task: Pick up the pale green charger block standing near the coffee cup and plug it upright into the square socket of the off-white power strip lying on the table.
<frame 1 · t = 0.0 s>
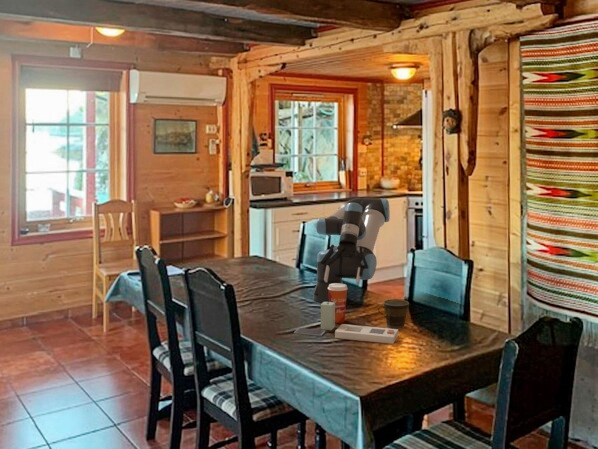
hand: (341, 282, 260), 15 cm above the table, tool tilted 35°, fingers open, 13 cm apart
coffee cup: (337, 321, 258), on the table
power strip: (366, 336, 237), on the table
charger block: (327, 328, 248), on the table
ceramic cup: (392, 327, 249), on the table
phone: (309, 333, 243), on the table
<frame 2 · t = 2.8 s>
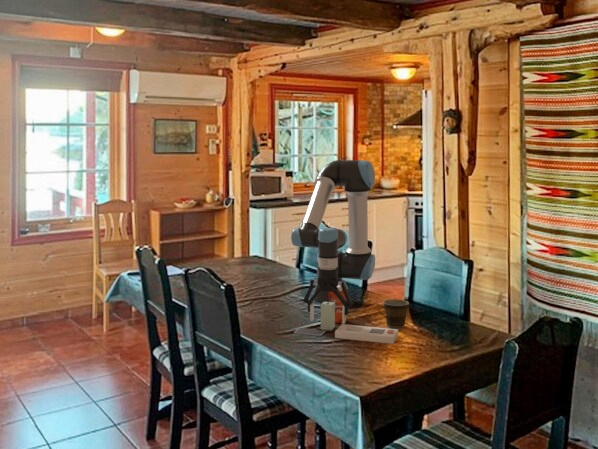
hand: (327, 321, 248), 3 cm above the table, tool pointing down, fingers open, 12 cm apart
nothing on the table moved.
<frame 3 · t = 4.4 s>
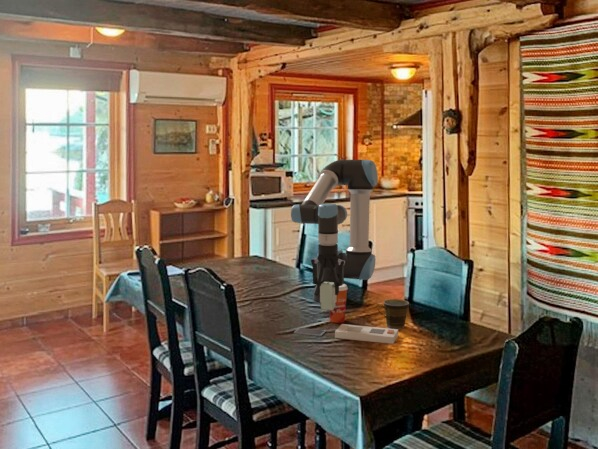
hand: (328, 302, 247), 10 cm above the table, tool pointing down, fingers closed on charger block, 4 cm apart
charger block: (328, 308, 248), point 8 cm above the table, touching gripper
everything else where it was.
when the fingers open (3 cm above the table, at t = 7.8 s): charger block stays where it is, resting in power strip.
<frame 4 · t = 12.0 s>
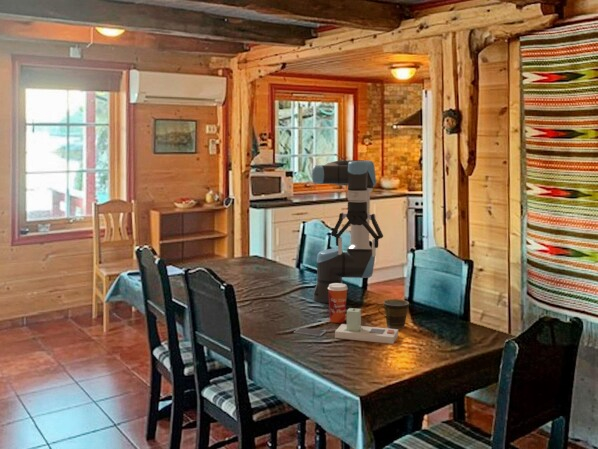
hand: (356, 255, 247), 29 cm above the table, tool pointing down, fingers open, 13 cm apart
charger block: (353, 335, 239), resting in power strip
everything else where it was.
at the end: charger block 0.2 cm from the target spot on the power strip, point 0.0 cm above the power strip's base; charger block tilted 0°; the gripper is holding nothing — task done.
